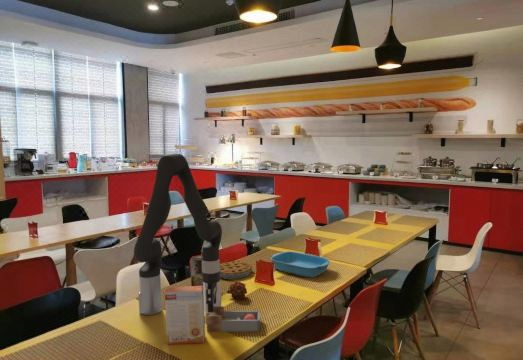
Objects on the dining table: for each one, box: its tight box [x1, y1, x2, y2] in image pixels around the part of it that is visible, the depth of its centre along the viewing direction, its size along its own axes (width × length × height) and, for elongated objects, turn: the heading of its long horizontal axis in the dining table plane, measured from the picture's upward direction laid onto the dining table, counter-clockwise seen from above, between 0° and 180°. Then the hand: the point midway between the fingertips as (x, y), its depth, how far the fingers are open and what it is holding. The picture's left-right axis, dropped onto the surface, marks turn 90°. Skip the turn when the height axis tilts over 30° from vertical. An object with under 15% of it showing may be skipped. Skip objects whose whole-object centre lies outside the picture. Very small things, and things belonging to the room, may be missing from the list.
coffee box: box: [189, 255, 203, 286], centre depth 207 cm, size 9×6×16 cm
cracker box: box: [164, 285, 206, 345], centre depth 153 cm, size 14×6×21 cm, turn 92°
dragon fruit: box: [226, 280, 248, 300], centre depth 194 cm, size 8×8×12 cm
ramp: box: [206, 305, 226, 332], centre depth 165 cm, size 7×9×6 cm
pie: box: [220, 260, 253, 280], centre depth 229 cm, size 22×22×5 cm
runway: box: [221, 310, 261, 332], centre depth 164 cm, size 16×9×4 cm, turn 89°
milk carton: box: [203, 279, 222, 315], centre depth 179 cm, size 7×7×19 cm
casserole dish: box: [270, 251, 330, 278], centre depth 233 cm, size 37×22×7 cm, turn 51°
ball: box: [244, 314, 256, 320], centre depth 164 cm, size 5×5×5 cm
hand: (212, 307), depth 164 cm, fingers open, 8 cm apart
